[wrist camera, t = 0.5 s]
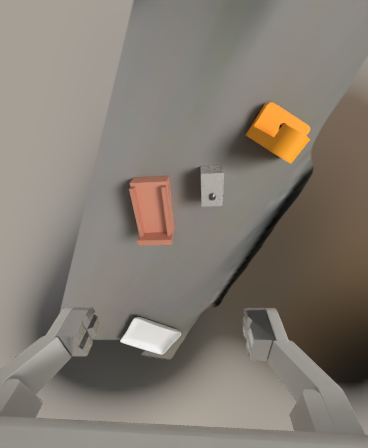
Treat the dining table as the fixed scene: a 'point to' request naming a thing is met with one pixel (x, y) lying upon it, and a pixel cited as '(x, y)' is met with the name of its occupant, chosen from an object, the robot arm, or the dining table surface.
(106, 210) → the dining table surface
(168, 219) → the pink boxy piece
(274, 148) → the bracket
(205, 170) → the block with knob
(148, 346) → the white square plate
